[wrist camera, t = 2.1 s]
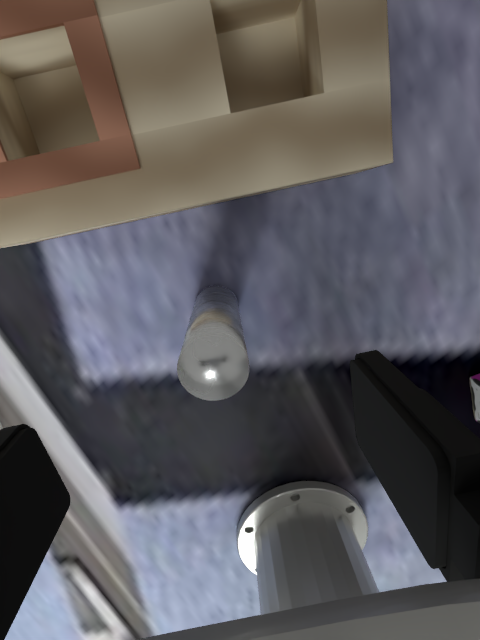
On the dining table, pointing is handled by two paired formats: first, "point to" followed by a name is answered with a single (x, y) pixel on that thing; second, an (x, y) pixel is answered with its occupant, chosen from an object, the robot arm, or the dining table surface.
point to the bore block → (181, 105)
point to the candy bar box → (475, 395)
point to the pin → (214, 347)
